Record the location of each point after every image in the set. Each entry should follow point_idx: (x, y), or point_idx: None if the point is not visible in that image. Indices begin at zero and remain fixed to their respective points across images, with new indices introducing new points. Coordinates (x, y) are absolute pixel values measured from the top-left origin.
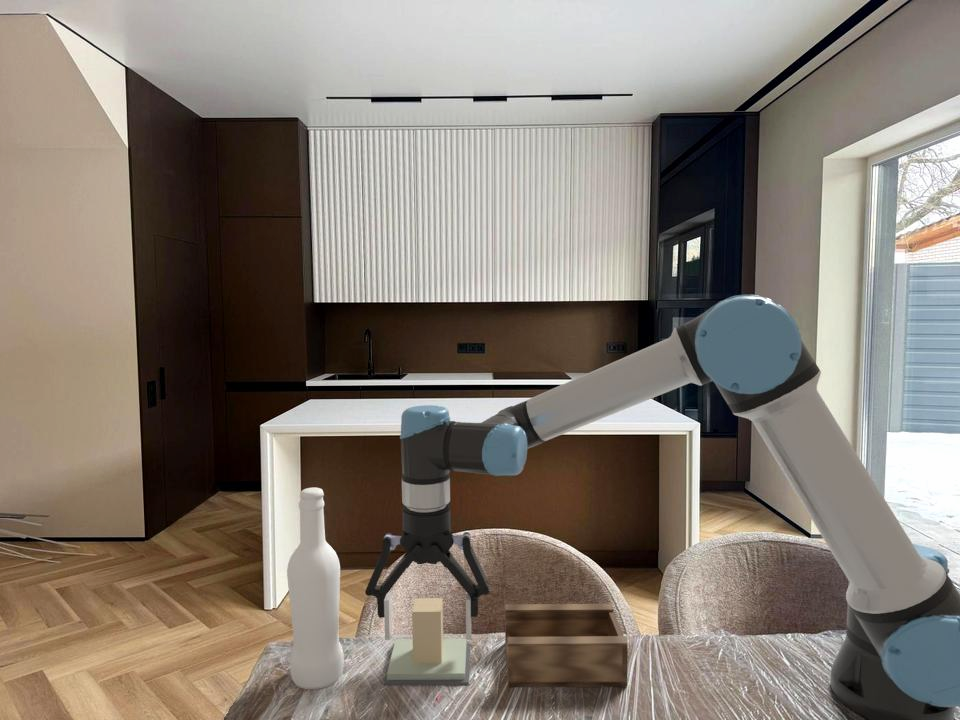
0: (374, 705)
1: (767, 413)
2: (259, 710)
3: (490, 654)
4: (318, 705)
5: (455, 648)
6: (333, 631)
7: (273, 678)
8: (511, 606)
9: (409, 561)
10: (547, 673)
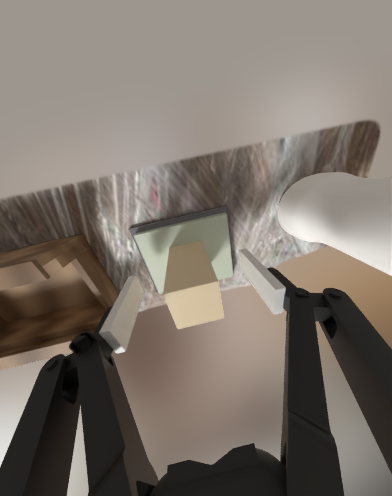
0: (226, 163)
1: None
2: (362, 122)
3: None
4: (293, 149)
5: (164, 276)
6: (345, 211)
7: None
8: None
9: (303, 472)
10: (18, 252)
